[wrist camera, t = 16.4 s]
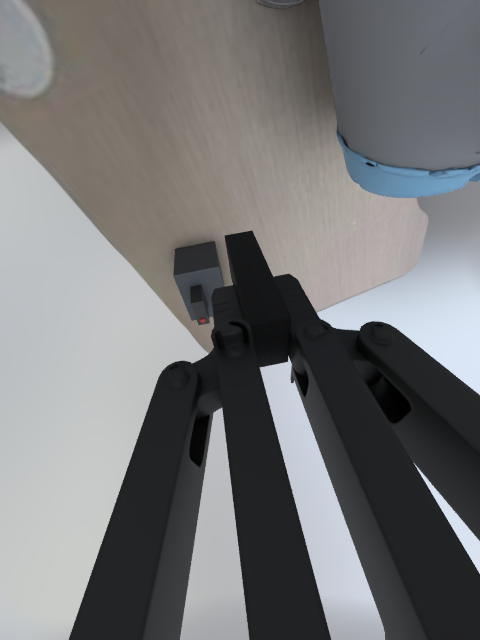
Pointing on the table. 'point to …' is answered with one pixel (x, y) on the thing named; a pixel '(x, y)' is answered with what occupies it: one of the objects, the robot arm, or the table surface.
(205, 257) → the remote caddy
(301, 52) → the table surface
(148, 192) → the table surface
